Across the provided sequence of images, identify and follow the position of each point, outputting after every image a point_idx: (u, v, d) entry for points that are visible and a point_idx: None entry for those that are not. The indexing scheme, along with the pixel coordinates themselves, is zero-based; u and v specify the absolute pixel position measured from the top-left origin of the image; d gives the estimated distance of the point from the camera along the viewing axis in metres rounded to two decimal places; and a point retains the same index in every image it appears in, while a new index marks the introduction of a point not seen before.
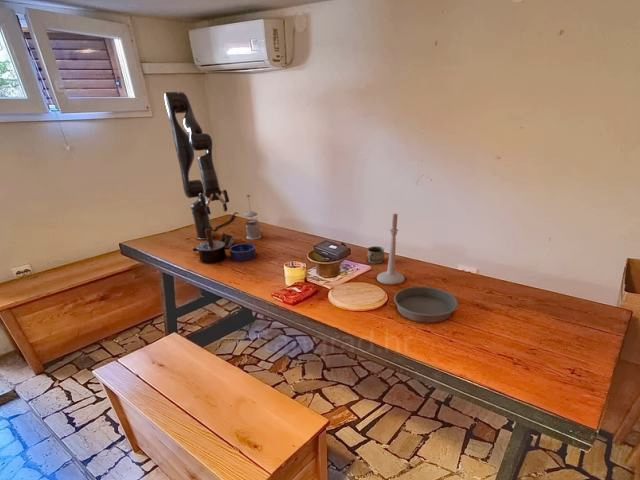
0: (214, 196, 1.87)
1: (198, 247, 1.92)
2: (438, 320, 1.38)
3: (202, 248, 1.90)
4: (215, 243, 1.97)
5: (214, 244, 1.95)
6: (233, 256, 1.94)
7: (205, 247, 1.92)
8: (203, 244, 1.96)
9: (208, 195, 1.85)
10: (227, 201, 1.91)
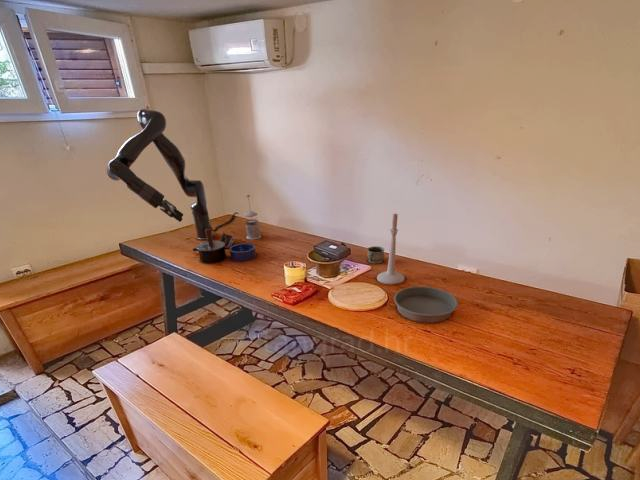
0: None
1: (198, 247, 1.92)
2: (438, 320, 1.38)
3: (202, 248, 1.90)
4: (215, 243, 1.97)
5: (214, 244, 1.95)
6: (233, 256, 1.94)
7: (205, 247, 1.92)
8: (203, 244, 1.96)
9: None
10: (170, 216, 1.76)
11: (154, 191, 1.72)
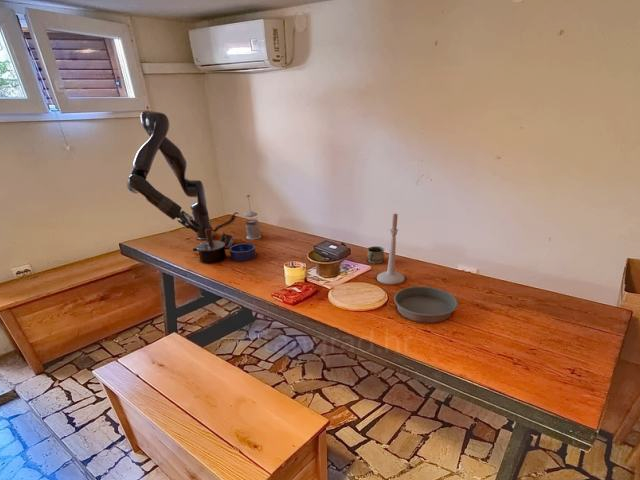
0: None
1: (198, 247, 1.92)
2: (438, 320, 1.38)
3: (202, 248, 1.90)
4: (215, 243, 1.97)
5: (214, 244, 1.95)
6: (233, 256, 1.94)
7: (205, 247, 1.92)
8: (203, 244, 1.96)
9: None
10: (188, 228, 1.81)
11: (172, 203, 1.77)
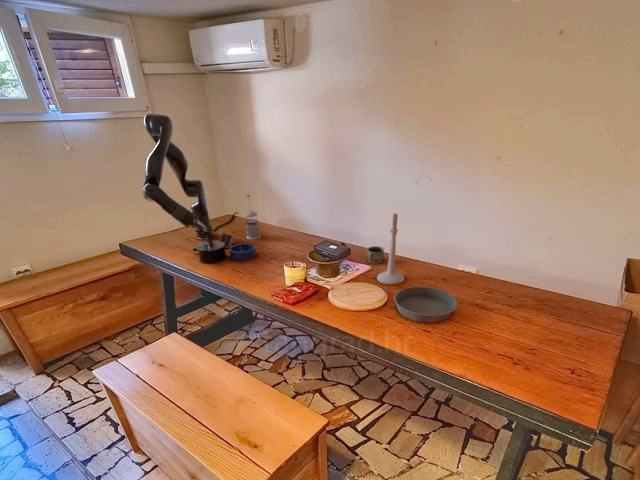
0: None
1: (198, 247, 1.92)
2: (438, 320, 1.38)
3: (202, 248, 1.90)
4: (215, 243, 1.97)
5: (214, 244, 1.95)
6: (233, 256, 1.94)
7: (205, 247, 1.92)
8: (203, 244, 1.96)
9: None
10: (203, 235, 1.87)
11: (186, 211, 1.81)
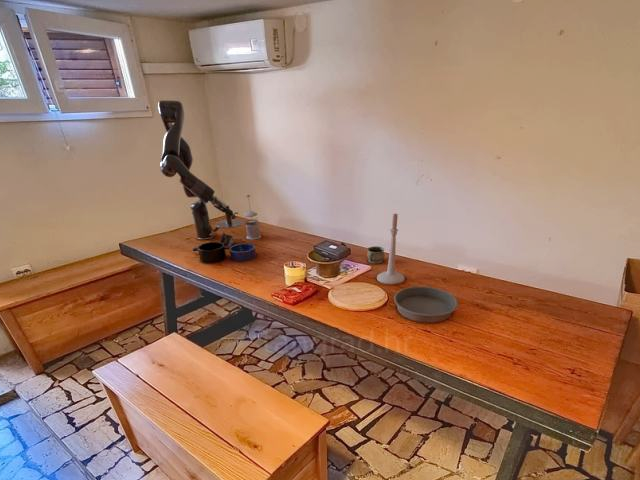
0: None
1: (216, 224, 1.87)
2: (438, 320, 1.38)
3: (221, 225, 1.85)
4: (233, 221, 1.92)
5: (233, 222, 1.90)
6: (233, 256, 1.94)
7: (224, 224, 1.87)
8: (221, 222, 1.91)
9: None
10: (222, 211, 1.82)
11: (205, 186, 1.76)
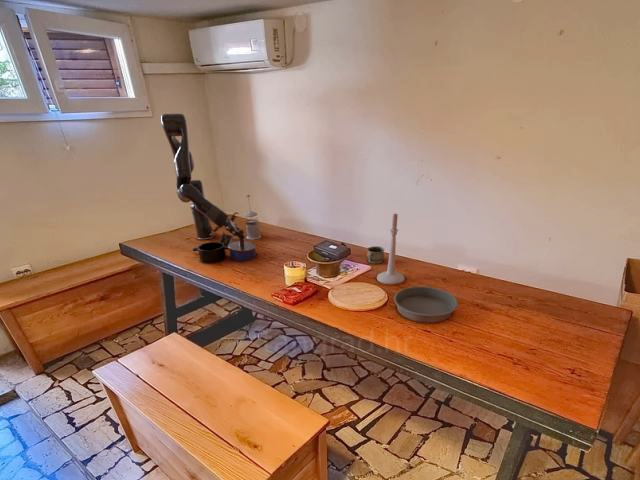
0: None
1: (229, 246, 1.94)
2: (438, 320, 1.38)
3: (234, 248, 1.93)
4: (246, 244, 1.99)
5: (245, 245, 1.98)
6: (233, 256, 1.94)
7: (236, 247, 1.94)
8: (234, 244, 1.98)
9: None
10: None
11: (220, 211, 1.83)
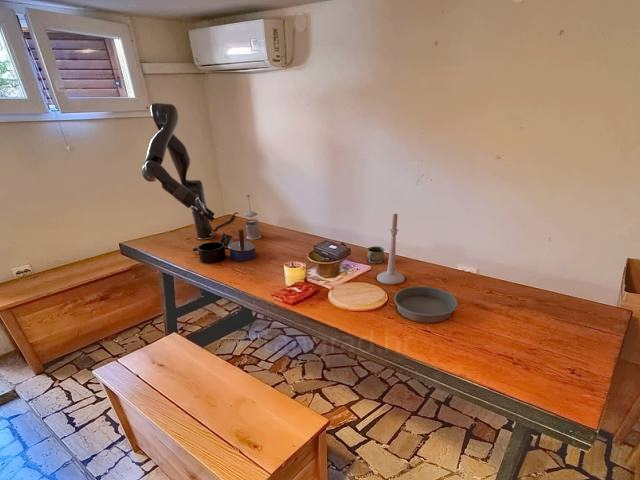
0: None
1: (229, 246, 1.94)
2: (438, 320, 1.38)
3: (234, 248, 1.93)
4: (246, 244, 1.99)
5: (245, 245, 1.98)
6: (233, 256, 1.94)
7: (236, 247, 1.94)
8: (234, 244, 1.98)
9: None
10: (203, 216, 1.79)
11: (187, 191, 1.75)
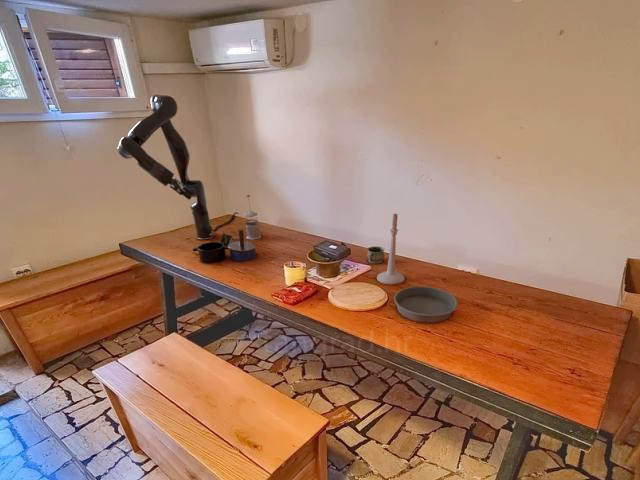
0: None
1: (229, 246, 1.94)
2: (438, 320, 1.38)
3: (234, 248, 1.93)
4: (246, 244, 1.99)
5: (245, 245, 1.98)
6: (233, 256, 1.94)
7: (236, 247, 1.94)
8: (234, 244, 1.98)
9: None
10: (180, 194, 1.80)
11: (164, 169, 1.76)
